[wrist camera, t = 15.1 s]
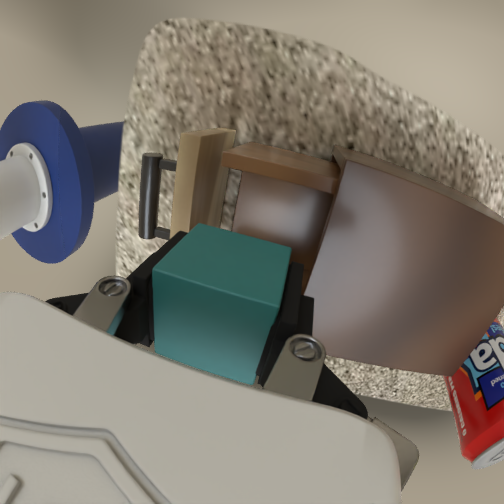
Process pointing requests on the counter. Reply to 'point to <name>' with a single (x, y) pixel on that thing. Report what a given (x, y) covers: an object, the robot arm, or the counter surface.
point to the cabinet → (404, 269)
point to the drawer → (242, 191)
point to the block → (218, 300)
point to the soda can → (480, 400)
